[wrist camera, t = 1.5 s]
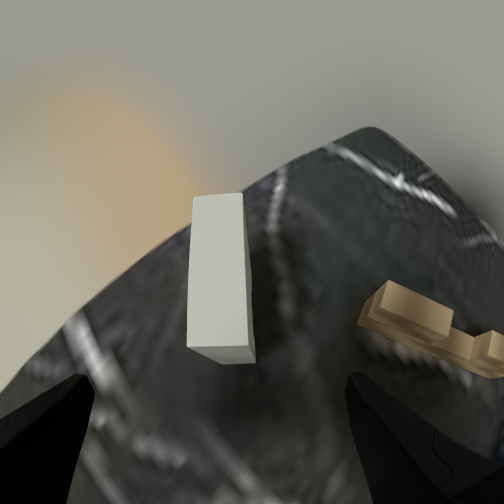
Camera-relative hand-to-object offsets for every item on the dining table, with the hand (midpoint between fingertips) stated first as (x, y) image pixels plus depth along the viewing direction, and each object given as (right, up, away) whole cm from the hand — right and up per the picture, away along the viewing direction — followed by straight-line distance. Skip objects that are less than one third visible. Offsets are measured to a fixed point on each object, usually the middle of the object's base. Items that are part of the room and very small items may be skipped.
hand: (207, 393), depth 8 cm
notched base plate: (+17, -4, +11) cm, 21 cm away
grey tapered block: (0, 0, +13) cm, 13 cm away
